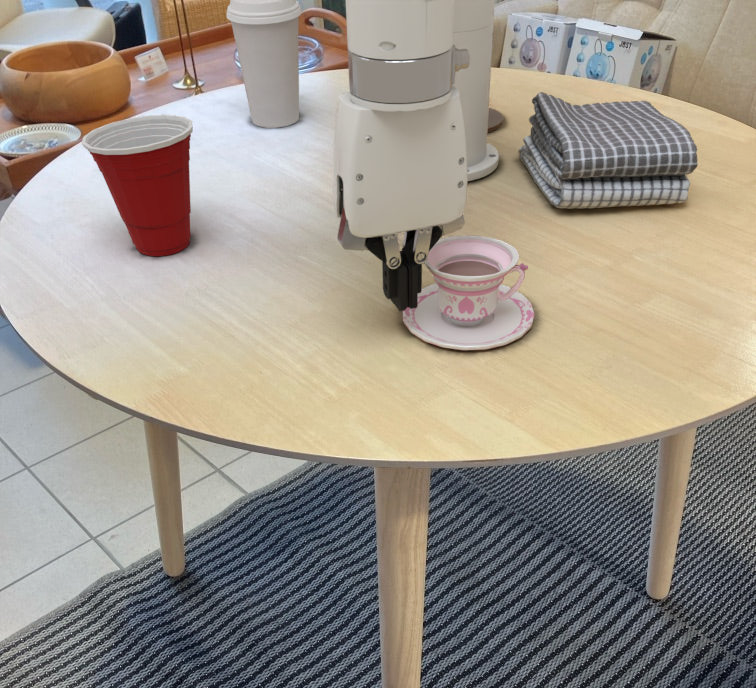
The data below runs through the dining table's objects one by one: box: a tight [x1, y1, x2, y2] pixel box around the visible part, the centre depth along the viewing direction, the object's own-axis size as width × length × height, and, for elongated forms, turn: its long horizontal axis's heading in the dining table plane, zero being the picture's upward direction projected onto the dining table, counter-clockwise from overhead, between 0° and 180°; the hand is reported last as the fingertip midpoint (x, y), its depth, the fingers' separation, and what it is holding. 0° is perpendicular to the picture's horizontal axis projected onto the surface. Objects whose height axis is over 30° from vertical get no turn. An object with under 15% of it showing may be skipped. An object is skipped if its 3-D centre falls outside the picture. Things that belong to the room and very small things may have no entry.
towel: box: [518, 91, 699, 209], centre depth 96 cm, size 15×18×8 cm
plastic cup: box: [81, 114, 194, 257], centre depth 87 cm, size 11×11×12 cm
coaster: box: [487, 107, 504, 134], centre depth 114 cm, size 10×10×1 cm
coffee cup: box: [225, 0, 303, 129], centre depth 112 cm, size 10×10×15 cm
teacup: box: [401, 234, 536, 351], centre depth 76 cm, size 12×12×6 cm
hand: (402, 302), depth 74 cm, fingers closed
